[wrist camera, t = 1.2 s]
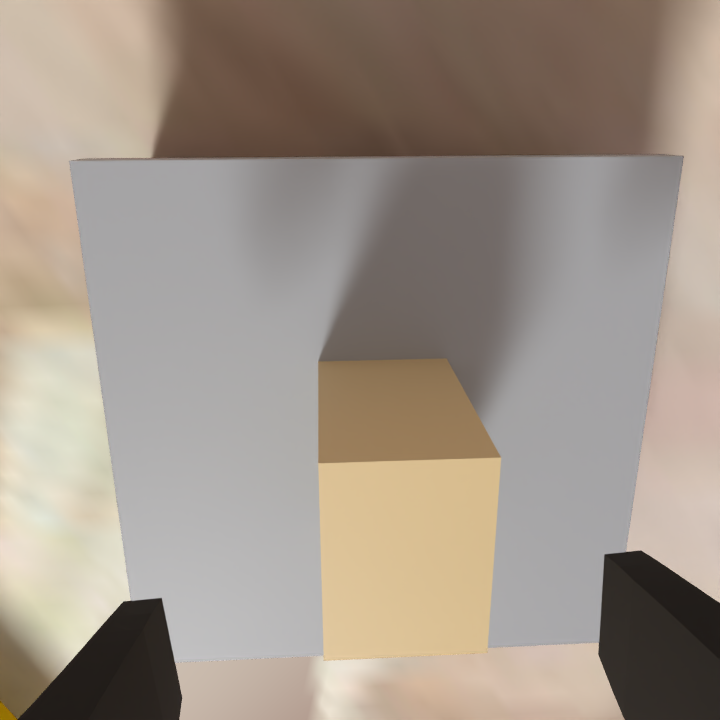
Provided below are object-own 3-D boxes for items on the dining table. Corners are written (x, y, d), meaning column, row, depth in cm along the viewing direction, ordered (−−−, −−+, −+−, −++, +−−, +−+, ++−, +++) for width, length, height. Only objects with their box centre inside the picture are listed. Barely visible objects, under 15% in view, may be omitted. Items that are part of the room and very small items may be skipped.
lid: (661, 154, 16) (858, 170, 10) (598, 617, 20) (710, 813, 14) (85, 158, 15) (-59, 179, 9) (148, 637, 19) (77, 853, 13)
